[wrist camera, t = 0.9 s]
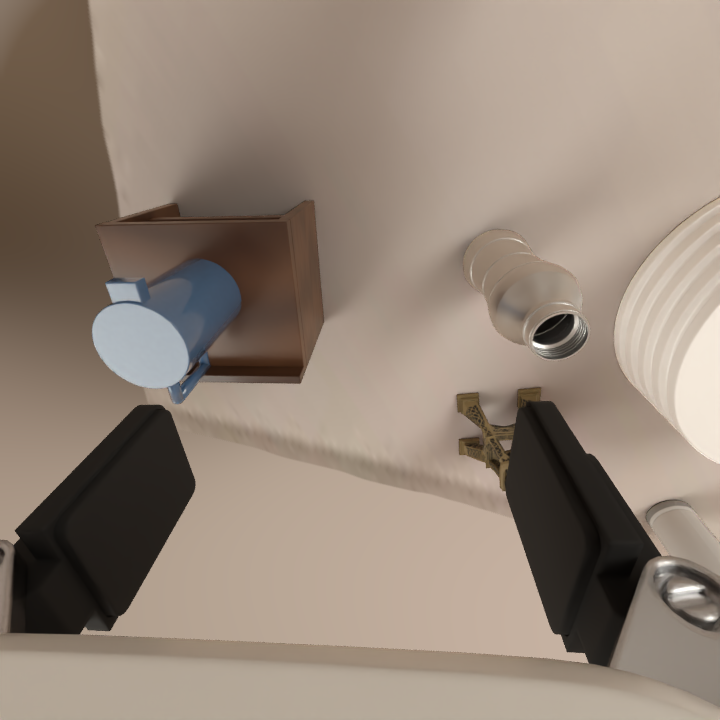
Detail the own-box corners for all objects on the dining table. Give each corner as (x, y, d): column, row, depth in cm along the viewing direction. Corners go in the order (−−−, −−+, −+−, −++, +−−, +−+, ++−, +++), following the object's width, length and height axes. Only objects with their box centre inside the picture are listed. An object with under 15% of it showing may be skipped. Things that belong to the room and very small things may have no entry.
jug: (156, 244, 32) (67, 283, 23) (231, 243, 31) (169, 283, 23) (187, 352, 37) (124, 418, 28) (252, 353, 36) (208, 420, 28)
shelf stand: (168, 203, 42) (78, 229, 30) (314, 200, 40) (280, 226, 29) (199, 321, 49) (136, 381, 37) (324, 322, 47) (300, 384, 36)
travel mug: (641, 529, 61) (739, 682, 44) (648, 500, 58) (756, 654, 41) (685, 526, 60) (803, 682, 43) (694, 497, 57) (825, 653, 40)
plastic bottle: (449, 246, 42) (489, 321, 24) (509, 211, 40) (600, 268, 22) (473, 295, 44) (525, 394, 27) (531, 265, 42) (629, 352, 25)
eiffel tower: (535, 448, 55) (626, 650, 33) (459, 453, 56) (500, 649, 35) (540, 387, 50) (652, 579, 28) (456, 394, 51) (502, 581, 30)
